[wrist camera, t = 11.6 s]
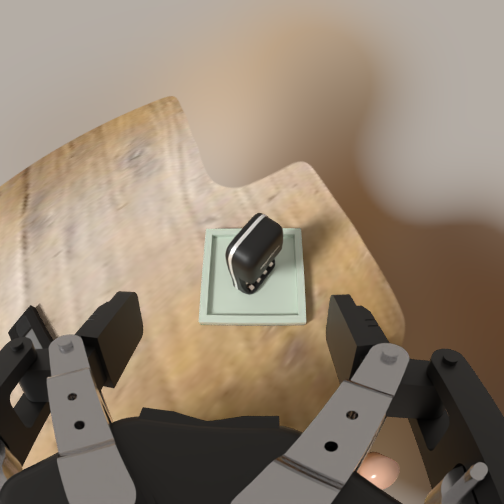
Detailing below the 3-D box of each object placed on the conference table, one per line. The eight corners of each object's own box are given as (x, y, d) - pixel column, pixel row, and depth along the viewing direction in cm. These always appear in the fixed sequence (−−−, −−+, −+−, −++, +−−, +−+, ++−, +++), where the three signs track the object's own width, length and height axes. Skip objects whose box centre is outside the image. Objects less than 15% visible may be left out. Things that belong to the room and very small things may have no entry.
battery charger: (253, 303, 40) (250, 271, 30) (231, 287, 41) (221, 250, 31) (283, 265, 43) (290, 222, 32) (261, 250, 44) (261, 205, 33)
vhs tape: (50, 400, 35) (42, 399, 33) (14, 335, 39) (8, 332, 38) (75, 372, 37) (68, 371, 35) (37, 308, 42) (30, 305, 40)
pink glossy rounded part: (354, 482, 29) (365, 492, 25) (355, 454, 31) (367, 462, 27) (384, 476, 29) (398, 485, 25) (385, 449, 31) (400, 455, 27)
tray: (201, 324, 40) (198, 322, 39) (207, 234, 46) (206, 228, 45) (304, 325, 40) (306, 322, 38) (299, 233, 46) (300, 228, 44)
